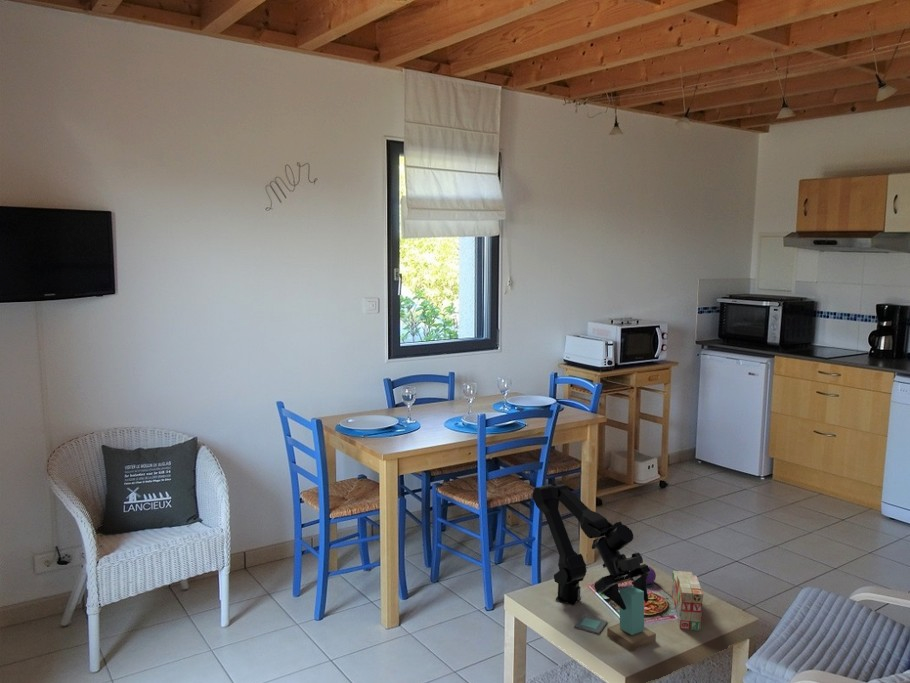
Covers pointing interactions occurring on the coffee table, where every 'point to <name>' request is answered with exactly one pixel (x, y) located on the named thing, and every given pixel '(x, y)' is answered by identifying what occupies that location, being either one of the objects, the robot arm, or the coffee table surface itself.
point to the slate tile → (590, 624)
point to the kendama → (649, 578)
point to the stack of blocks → (687, 600)
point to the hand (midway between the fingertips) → (636, 605)
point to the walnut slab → (631, 637)
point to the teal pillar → (632, 610)
